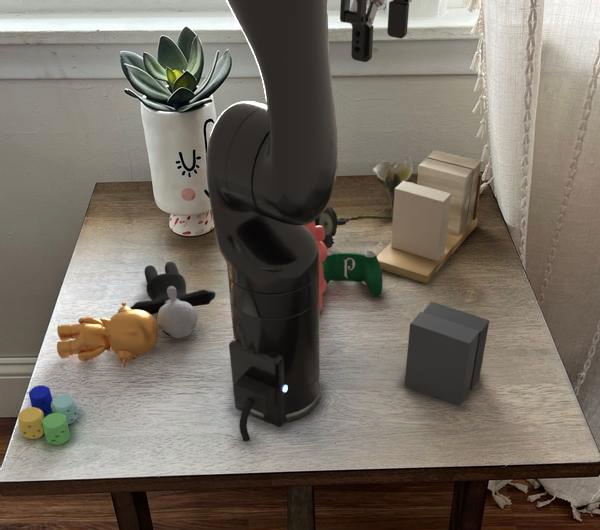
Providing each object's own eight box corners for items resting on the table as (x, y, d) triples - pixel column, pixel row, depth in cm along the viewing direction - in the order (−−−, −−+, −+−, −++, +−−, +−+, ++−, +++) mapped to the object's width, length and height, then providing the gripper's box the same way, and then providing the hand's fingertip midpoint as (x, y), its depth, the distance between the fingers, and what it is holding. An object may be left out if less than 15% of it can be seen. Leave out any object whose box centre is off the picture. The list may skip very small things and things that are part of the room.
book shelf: (426, 283, 110) (433, 216, 103) (373, 266, 113) (376, 200, 106) (476, 225, 120) (486, 160, 113) (426, 211, 123) (433, 147, 116)
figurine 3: (304, 324, 104) (303, 219, 93) (279, 305, 107) (275, 202, 96) (335, 308, 106) (337, 204, 96) (309, 290, 109) (308, 188, 99)
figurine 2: (121, 292, 110) (138, 355, 99) (113, 253, 106) (130, 315, 95) (202, 277, 112) (228, 337, 101) (197, 239, 109) (223, 297, 98)
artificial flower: (294, 242, 120) (288, 172, 116) (410, 211, 131) (408, 146, 127) (331, 253, 113) (326, 179, 109) (450, 219, 124) (449, 152, 120)
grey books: (460, 406, 92) (470, 343, 86) (404, 385, 95) (409, 323, 89) (479, 378, 95) (490, 316, 89) (424, 358, 98) (431, 297, 92)
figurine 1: (65, 381, 100) (164, 373, 99) (49, 363, 94) (153, 354, 94) (67, 318, 102) (163, 309, 102) (51, 296, 97) (152, 288, 96)
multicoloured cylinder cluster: (57, 393, 95) (5, 418, 92) (52, 376, 93) (-1, 401, 90) (92, 431, 90) (38, 459, 87) (88, 414, 88) (33, 442, 85)
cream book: (436, 261, 111) (443, 201, 105) (390, 247, 114) (394, 188, 108) (444, 252, 113) (451, 193, 107) (398, 238, 116) (403, 180, 110)
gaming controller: (381, 299, 110) (383, 255, 110) (381, 294, 106) (384, 248, 107) (312, 297, 111) (315, 253, 111) (310, 291, 107) (313, 246, 107)
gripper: (388, -134, 88) (379, 24, 99) (319, -109, 79) (318, 62, 90) (452, -128, 85) (436, 35, 96) (388, -101, 76) (379, 75, 87)
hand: (379, 48), depth 93 cm, fingers open, 8 cm apart
